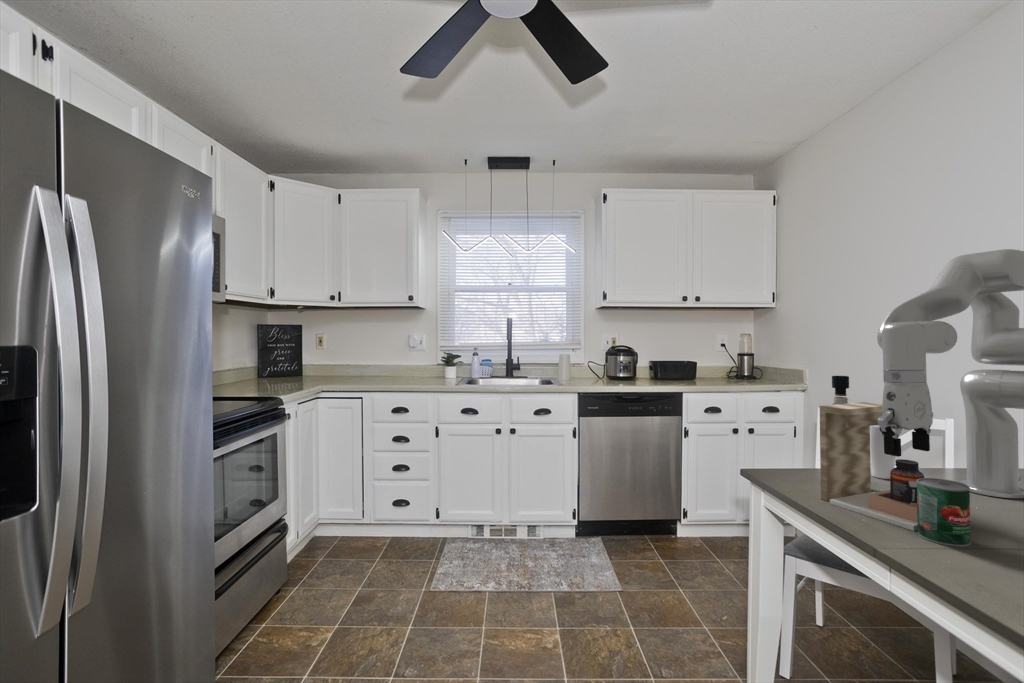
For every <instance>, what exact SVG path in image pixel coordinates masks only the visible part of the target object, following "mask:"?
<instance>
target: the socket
mask: <svg viewBox="0 0 1024 683" xmlns="http://www.w3.org/2000/svg"><path fill="white" fill-rule="evenodd" d="M890 497H891V496H890V490H885V491H884V490H882V491H878V492H877V491H871V492H869V493H863V494H858V495H852V496H846V497H841V498H835V499H830V501H829V504H830V505H832V506H833V505H834V506H836V507H839V508H843V509H846V510H849V511H852V512H855V513H857V512H858V513H857V514H860V513H861V515H864V516H867V517H869V518H872V519H873V518H874V519H876V520H880V521H883V522H885V523H889V524H892V525H894V526H898V527H901V528H904V529H907V530H911V531H912V532H914V531H918V517H917V516H918V513H917V512H918V509H917V508H918V506H917V505H915V506H914V505H910V504H907V503H903V502H900V501H896V500H893V499H891V498H890Z"/></svg>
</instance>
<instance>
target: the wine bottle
mask: <svg viewBox="0 0 1024 683" xmlns="http://www.w3.org/2000/svg"><path fill="white" fill-rule="evenodd" d="M831 388H833V389H834V397H833V403H832V405H835V404H847V403H849V399H848V397H847V389H850V376H848V375H831Z"/></svg>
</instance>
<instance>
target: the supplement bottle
mask: <svg viewBox="0 0 1024 683" xmlns="http://www.w3.org/2000/svg"><path fill="white" fill-rule="evenodd" d="M895 466H896V467H894V469H892V470H891V472H890V479H889V481H890V485H889V486H890V496H891V497H890V498H891V499H893V500H896V501H900V502H903V503H907V504H910V505H914V506H915V505H917V479H921V478H925V475H924V473H923V472H921V471H920V470H919V462H918V461H915V460H911V459H902V458H901V459H895Z"/></svg>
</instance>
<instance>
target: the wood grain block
mask: <svg viewBox="0 0 1024 683" xmlns="http://www.w3.org/2000/svg"><path fill="white" fill-rule="evenodd" d="M881 415H882V404H881V403H874V402H865V401H863V402H862V401H861V402H848V403H847V404H835V405H833V404H824V405H823V404H822V405H819V446H820V447H819V451H820V452H819V455H820V458H819V459H820V460H819V461H820V500H822V501H825V502H828V501H829V502H830V499H835V498H841V497H846V496H852V495H858V494H863V493H869V492H872V485H871V484H872V481H871V478H872V475H871V466H870V426H874V425H879V424H878V422H877V419H878V418H879V417H880V416H881Z"/></svg>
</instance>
